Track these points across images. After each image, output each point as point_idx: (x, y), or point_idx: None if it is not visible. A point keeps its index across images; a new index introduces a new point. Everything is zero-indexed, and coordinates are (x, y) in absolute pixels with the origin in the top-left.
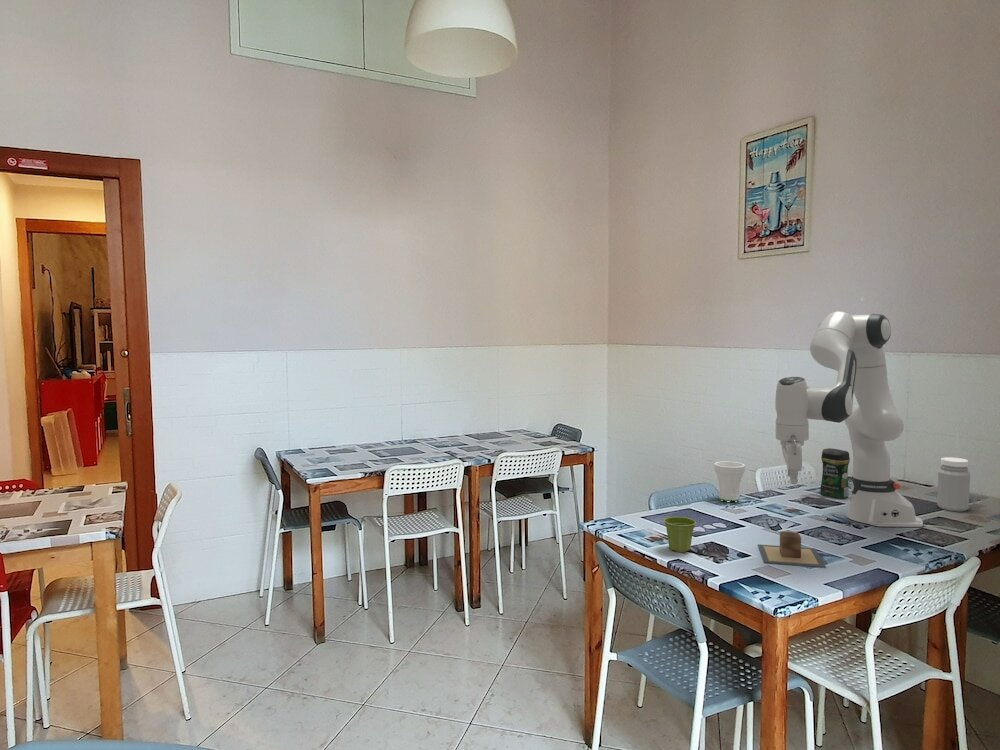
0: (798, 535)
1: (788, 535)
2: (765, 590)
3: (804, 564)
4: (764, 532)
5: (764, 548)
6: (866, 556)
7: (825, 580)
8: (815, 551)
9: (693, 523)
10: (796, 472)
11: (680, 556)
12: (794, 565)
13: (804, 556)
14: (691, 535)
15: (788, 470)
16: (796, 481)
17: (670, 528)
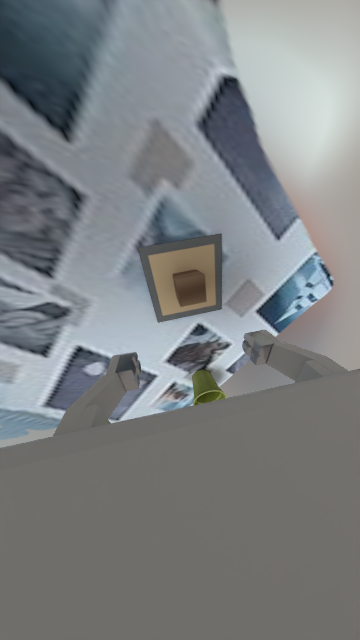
0: (193, 279)
1: (198, 293)
2: (295, 299)
3: (218, 264)
4: (92, 321)
5: (171, 313)
6: (133, 139)
7: (266, 236)
8: (154, 247)
9: (203, 391)
10: (327, 364)
11: (219, 370)
12: (221, 276)
13: (186, 264)
14: (209, 380)
15: (126, 389)
16: (270, 336)
17: (219, 399)
